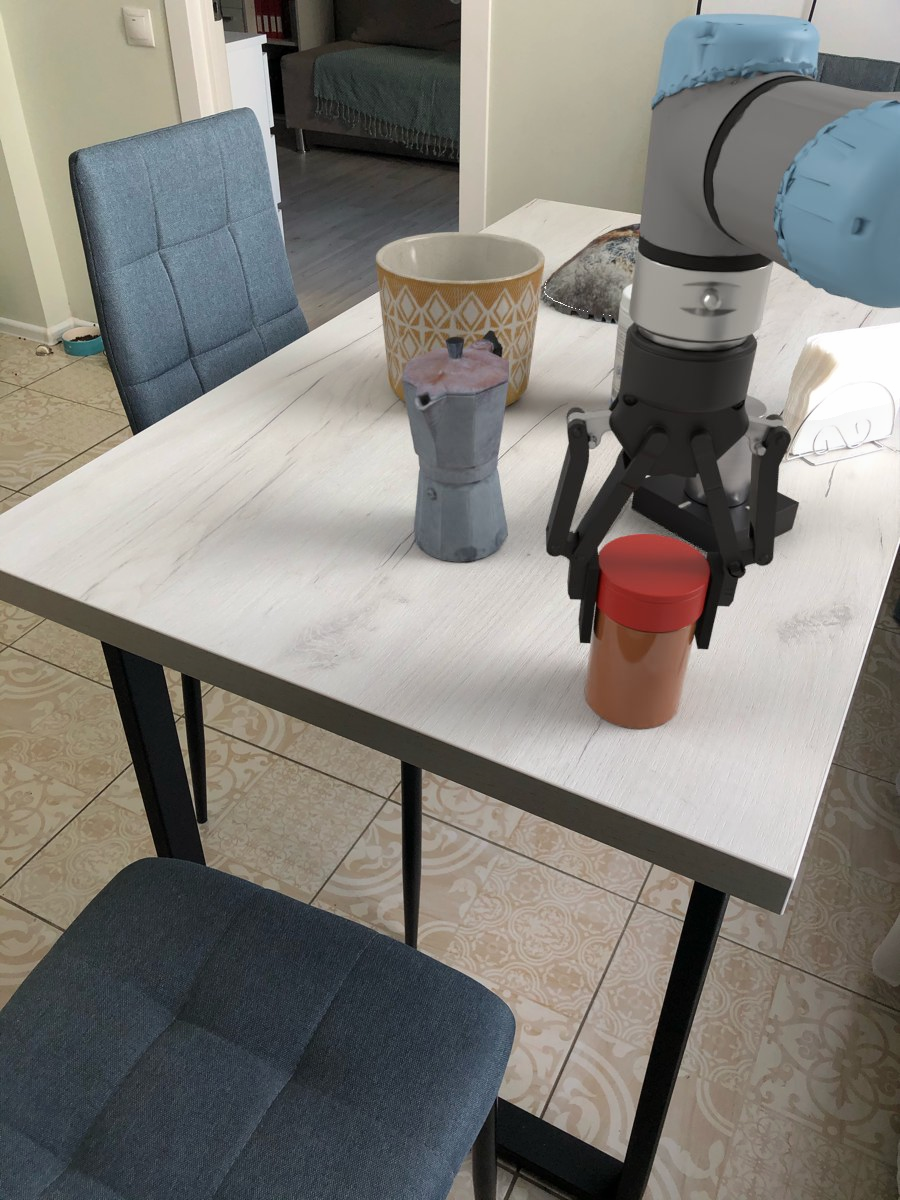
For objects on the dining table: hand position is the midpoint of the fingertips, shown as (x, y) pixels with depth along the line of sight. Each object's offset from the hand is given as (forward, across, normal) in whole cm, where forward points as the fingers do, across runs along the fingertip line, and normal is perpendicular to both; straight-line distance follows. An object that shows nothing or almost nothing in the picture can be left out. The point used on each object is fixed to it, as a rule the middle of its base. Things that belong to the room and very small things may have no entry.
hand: (642, 634), depth 68 cm
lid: (-6, 0, 0) cm, 6 cm away
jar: (+6, 0, 0) cm, 6 cm away
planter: (+6, -17, +55) cm, 58 cm away
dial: (+3, +10, +27) cm, 29 cm away
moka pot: (+6, -15, +22) cm, 27 cm away
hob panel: (+6, +10, +27) cm, 29 cm away
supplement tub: (+6, +6, +50) cm, 51 cm away
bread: (+6, +10, +94) cm, 94 cm away
